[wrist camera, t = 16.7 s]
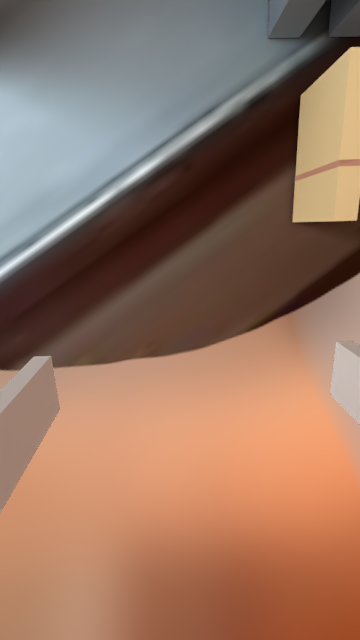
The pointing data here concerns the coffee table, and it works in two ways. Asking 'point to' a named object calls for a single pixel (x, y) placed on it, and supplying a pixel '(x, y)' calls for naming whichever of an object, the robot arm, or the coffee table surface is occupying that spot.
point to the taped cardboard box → (330, 145)
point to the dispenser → (300, 8)
